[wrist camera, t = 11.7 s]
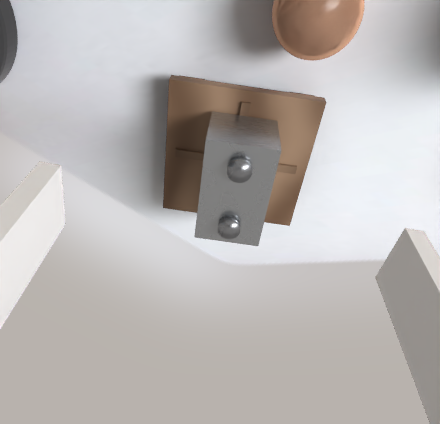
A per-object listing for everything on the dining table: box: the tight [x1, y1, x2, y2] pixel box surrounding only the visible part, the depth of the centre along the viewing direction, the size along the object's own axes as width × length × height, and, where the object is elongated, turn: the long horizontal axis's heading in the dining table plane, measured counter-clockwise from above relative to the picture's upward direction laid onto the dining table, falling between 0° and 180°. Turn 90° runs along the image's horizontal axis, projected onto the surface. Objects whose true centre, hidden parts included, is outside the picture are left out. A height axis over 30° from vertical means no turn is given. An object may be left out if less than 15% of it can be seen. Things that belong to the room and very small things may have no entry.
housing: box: [195, 111, 282, 246], centre depth 35 cm, size 10×6×7 cm, turn 173°
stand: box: [163, 75, 326, 226], centre depth 39 cm, size 14×14×3 cm
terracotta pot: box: [272, 0, 364, 60], centre depth 30 cm, size 7×7×5 cm
